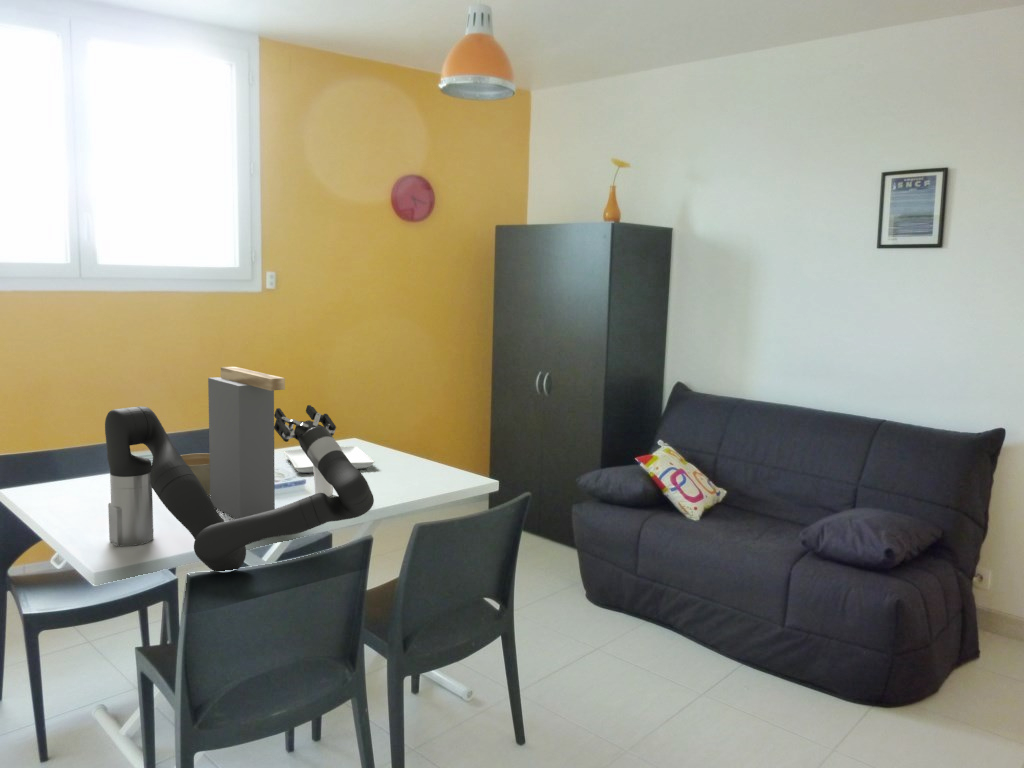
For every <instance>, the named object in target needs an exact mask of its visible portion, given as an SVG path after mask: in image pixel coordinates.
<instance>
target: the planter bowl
mask: <svg viewBox="0 0 1024 768" xmlns="http://www.w3.org/2000/svg"><path fill="white" fill-rule="evenodd" d="M180 456H181V457H182V458H183V460H184V461H185V463H186V464H187V465H188V466H189V467H190V469H191V470H192V471H193V473H194V474H195V476H196V477H197V478H198V480H199V481H200V483H201V485H202V486H203V488H204V489H205V491H206V493H207V494H208V496H209V497H210V455H209V453H208V452H205V453H204V452H203V453H200V452H199V453H188V454H180Z"/></svg>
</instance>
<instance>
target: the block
mask: <svg viewBox="0 0 1024 768" xmlns="http://www.w3.org/2000/svg"><path fill="white" fill-rule="evenodd" d="M220 377H221V378H223V379H227V380H231V381H235V382H239V383H243V384H247V385H251V386H254V387H258V388H262V389H266V390H270V391H273V390H274V391H282V390H284V391H285V390H286V378H285V377H282V376H278V375H273V374H268V373H264V372H260V371H257V370H255V371H254V370H251V369H247V368H244V367H243V368H242V367H239V366H220Z"/></svg>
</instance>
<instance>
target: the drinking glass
mask: <svg viewBox="0 0 1024 768" xmlns="http://www.w3.org/2000/svg"><path fill="white" fill-rule="evenodd" d="M313 471H314V473H313V480H314V494H317V493H324V494H326V495H327V496H328V497H333V495H334V488H333V486H332V485H330V484H329V483H328V482H327V481H326V480H325V478H324V477H323V476H322V474H321V473H320V471H319V470H318V469H317V468H316V467H315V466H314V465H313Z"/></svg>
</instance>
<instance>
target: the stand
mask: <svg viewBox="0 0 1024 768" xmlns="http://www.w3.org/2000/svg"><path fill="white" fill-rule="evenodd" d="M207 385H208V388H207V389H208V396H207V397H208V437H209V438H208V439H209V440H208V442H209V443H208V445H209V447H208V448H209V449H208V450H209V455H210V495H209V498H210V499H211V501H212V503H213V505H214V507H215V509H216V508H217V509H216V510H218V509H219V510H218V511H220V510H221V511H220V512H221V513H223V512H224V513H223V514H225V513H226V515H227V514H228V515H227V516H229V515H230V516H229V517H231V516H232V517H231V518H233V517H234V518H233V519H234V520H235V519H239V518H243V517H247V516H251V515H255V514H259V513H263V512H266V511H270V510H273V509H276V507H275V505H276V504H275V503H276V502H275V500H276V497H275V495H276V490H275V485H276V484H275V481H276V479H275V478H276V477H275V429H274V426H275V416H274V414H275V390H273V391H270V390H266V389H262V388H258V387H254V386H251V385H247V384H243V383H239V382H235V381H231V380H227V379H223V378H221V376H219V377H218V376H217V377H208V379H207Z"/></svg>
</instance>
